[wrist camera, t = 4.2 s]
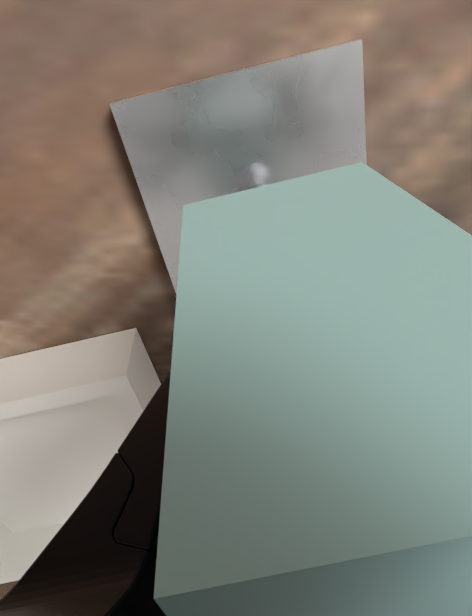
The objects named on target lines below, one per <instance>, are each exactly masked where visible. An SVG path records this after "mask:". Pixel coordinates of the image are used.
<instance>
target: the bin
mask: <svg viewBox="0 0 472 616" xmlns="http://www.w3.org/2000/svg"><path fill="white" fill-rule="evenodd" d="M160 385H161V383H160V381H159V378H158V376H157V374H156V371H155V369H154V367H153V365H152V362H151V360H150V358H149V356H148V353H147V351H146V349H145V346H144V344H143V342H142V340H141V337H140V335H139V333H138V331H137V328H133V329H129V330H124V331H120V332H115V333H111V334H107V335H102V336H98V337H94V338H89V339H85V340H81V341H76V342H72V343H68V344H63V345H59V346H55V347H50V348H46V349H41V350H37V351H33V352H28V353H24V354H20V355H15V356H11V357H7V358H2V359H0V584H3V583H8V582H12V581H17V580H20V578H21V577H22V576H23V575H24V574H25V572H26V571H27V570H28V569H29V567H30V566H31V565H32V564H33V562H34V561H35V560H36V559H37V557H38V556H39V555H40V554H41V552H42V551H43V550H44V549H45V547H46V546H47V545H48V543H49V542H50V541H51V540H52V538H53V537H54V536H55V535H56V533H57V532H58V531H59V530H60V528H61V527H62V526H63V525H64V523H65V522H66V521H67V520H68V518H69V517H70V516H71V515H72V513H73V512H74V511H75V509H76V508H77V507H78V505H79V504H80V503H81V501H82V500H83V499H84V498H85V496H86V495H87V494H88V492H89V491H90V490H91V488H92V487H93V485H94V484H95V483H96V481H97V480H98V478H99V477H100V475H101V474H102V472H103V471H104V470H105V468H106V467H107V465H108V464H109V462H110V461H111V459H112V458H113V456H114V455H115V453H118V449H119V447H120V446H121V444H122V443H123V441H124V440H125V438H126V437H127V435H128V434H129V432H130V431H131V429H132V427H133V426H134V424H135V423H136V421H137V420H138V418H139V417H140V415H141V414H142V412H143V411H144V409H145V408H146V406H147V405H148V403H149V402H150V400H151V399H152V397H153V396H154V394H155V393H156V391H157V390H158V388H159V387H160Z"/></svg>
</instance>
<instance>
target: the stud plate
mask: <svg viewBox="0 0 472 616" xmlns="http://www.w3.org/2000/svg"><path fill="white" fill-rule="evenodd" d="M110 107H111V110H112V113H113V116H114V119H115V121H116V124H117V127H118V130H119V133H120V136H121V139H122V141H123V144H124V147H125V150H126V153H127V156H128V158H129V161H130V164H131V167H132V170H133V173H134V176H135V178H136V181H137V184H138V187H139V190H140V193H141V195H142V198H143V201H144V204H145V207H146V210H147V213H148V215H149V218H150V221H151V224H152V227H153V230H154V232H155V235H156V238H157V241H158V244H159V247H160V250H161V252H162V255H163V258H164V261H165V264H166V267H167V269H168V272H169V275H170V278H171V281H172V284H173V287H174V289H175V292H176V295H177V282H178V269H179V255H180V242H181V229H182V216H183V205H186V204H190V203H194V202H198V201H203V200H207V199H211V198H215V197H219V196H223V195H227V194H232V193H236V192H240V191H244V190H248V189H252V188H256V187H261V186H265V185H269V184H273V183H277V182H281V181H285V180H290V179H294V178H298V177H302V176H306V175H310V174H314V173H319V172H323V171H327V170H331V169H335V168H339V167H343V166H348V165H352V164H356V163H360V162H362V163H364V164H365V165H366V136H365V108H364V79H363V50H362V39H361V40H352V41H348V42H344V43H340V44H336V45H332V46H328V47H324V48H320V49H317V50H313V51H309V52H305V53H301V54H297V55H293V56H289V57H285V58H282V59H278V60H274V61H270V62H266V63H262V64H258V65H254V66H250V67H246V68H243V69H239V70H235V71H231V72H227V73H223V74H219V75H215V76H211V77H208V78H204V79H200V80H196V81H192V82H188V83H184V84H180V85H176V86H172V87H169V88H165V89H161V90H157V91H153V92H149V93H145V94H141V95H137V96H134V97H130V98H126V99H122V100H118V101H114V102H112V103H111V104H110Z"/></svg>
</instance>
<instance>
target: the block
mask: <svg viewBox="0 0 472 616" xmlns="http://www.w3.org/2000/svg"><path fill="white" fill-rule="evenodd" d="M154 600H155V601H156V603H157V604H158V605H159V607H160V608H161V609H162V611H163V612H164V613H165V614H166V616H472V235H470V234H469V233H467V232H466V231H464V230H463V229H461V228H460V227H458V226H457V225H455V224H454V223H452V222H451V221H449V220H448V219H446V218H445V217H443V216H442V215H440V214H439V213H437V212H436V211H434V210H433V209H431V208H430V207H428V206H427V205H425V204H424V203H422V202H421V201H419V200H418V199H416V198H415V197H413V196H412V195H410V194H409V193H407V192H406V191H404V190H403V189H401V188H400V187H398V186H397V185H395V184H394V183H392V182H391V181H389V180H388V179H386V178H385V177H383V176H382V175H380V174H379V173H377V172H376V171H374V170H373V169H371V168H370V167H368V166H367V165H365V164H364V163H362V162H360V163H356V164H352V165H348V166H343V167H339V168H335V169H331V170H327V171H323V172H319V173H314V174H310V175H306V176H302V177H298V178H294V179H290V180H285V181H281V182H277V183H273V184H269V185H265V186H261V187H256V188H252V189H248V190H244V191H240V192H236V193H232V194H227V195H223V196H219V197H215V198H211V199H207V200H203V201H198V202H194V203H190V204H186V205H183V216H182V229H181V242H180V255H179V269H178V282H177V295H176V308H175V321H174V335H173V348H172V361H171V374H170V387H169V401H168V414H167V427H166V440H165V453H164V467H163V480H162V493H161V506H160V519H159V533H158V546H157V559H156V572H155V585H154Z"/></svg>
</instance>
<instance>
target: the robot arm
mask: <svg viewBox="0 0 472 616" xmlns="http://www.w3.org/2000/svg"><path fill="white" fill-rule="evenodd" d="M170 374H171V370H170V371H169V373H168V374H167V376H166V377H165V379H164V380H163V382H162V384H161V385H160V387H159V388H158V390H157V391H156V393H155V394H154V396H153V397H152V399H151V400H150V402H149V403H148V405H147V406H146V408H145V409H144V411H143V412H142V414H141V415H140V417H139V418H138V420H137V421H136V423H135V424H134V426H133V427H132V429H131V431H130V432H129V434H128V435H127V437H126V438H125V440H124V441H123V443H122V444H121V446H120V447H119V449H118V453H115V455H114V456H113V458H112V459H111V461H110V462H109V464H108V465H107V467H106V468H105V470H104V471H103V472H102V474H101V475H100V477H99V478H98V480H97V481H96V483H95V484H94V485H93V487H92V488H91V490H90V491H89V492H88V494H87V495H86V496H85V498H84V499H83V500H82V501H81V503H80V504H79V505H78V507H77V508H76V509H75V511H74V512H73V513H72V515H71V516H70V517H69V518H68V520H67V521H66V522H65V523H64V525H63V526H62V527H61V528H60V530H59V531H58V532H57V533H56V535H55V536H54V537H53V538H52V540H51V541H50V542H49V543H48V545H47V546H46V547H45V549H44V550H43V551H42V552H41V554H40V555H39V556H38V557H37V559H36V560H35V561H34V562H33V564H32V565H31V566H30V567H29V569H28V570H27V571H26V572H25V574H24V575H23V576H22V577H21V578H20V580H19V581H18V582H17V583H16V584H15V586H14V587H13V588H12V589H11V590H10V591H9V592H8V593H7V594H6V595H5V596H4V597H3V598H2V599H1V600H0V616H166V614H165V613H164V612H163V611H162V609H161V608H160V607H159V605H158V604H157V603H156V601H155V600H154V585H155V572H156V559H157V546H158V533H159V519H160V506H161V493H162V480H163V467H164V453H165V440H166V427H167V414H168V401H169V387H170Z"/></svg>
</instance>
